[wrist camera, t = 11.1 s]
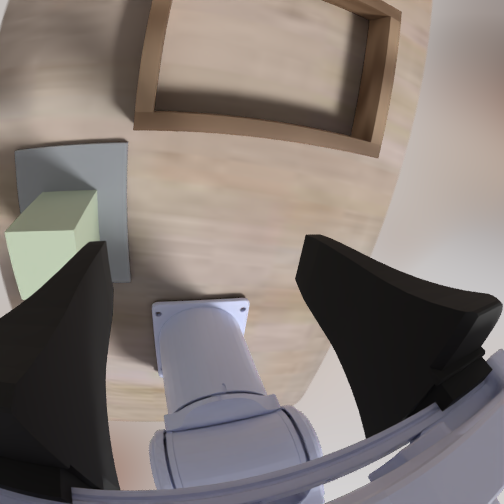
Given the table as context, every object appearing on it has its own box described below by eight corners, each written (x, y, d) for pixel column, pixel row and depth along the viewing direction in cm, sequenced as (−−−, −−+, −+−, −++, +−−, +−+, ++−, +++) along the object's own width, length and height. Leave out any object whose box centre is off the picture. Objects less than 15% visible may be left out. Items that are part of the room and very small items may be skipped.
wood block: (100, 246, 18) (85, 300, 13) (49, 246, 17) (21, 299, 12) (97, 189, 16) (73, 230, 11) (42, 192, 15) (4, 232, 10)
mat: (130, 279, 21) (130, 282, 20) (36, 280, 18) (35, 283, 18) (128, 142, 16) (127, 143, 16) (17, 149, 13) (14, 151, 13)
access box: (358, 150, 21) (378, 158, 19) (136, 126, 16) (133, 130, 14) (380, 15, 15) (401, 12, 13) (167, -42, 10) (169, -59, 8)
